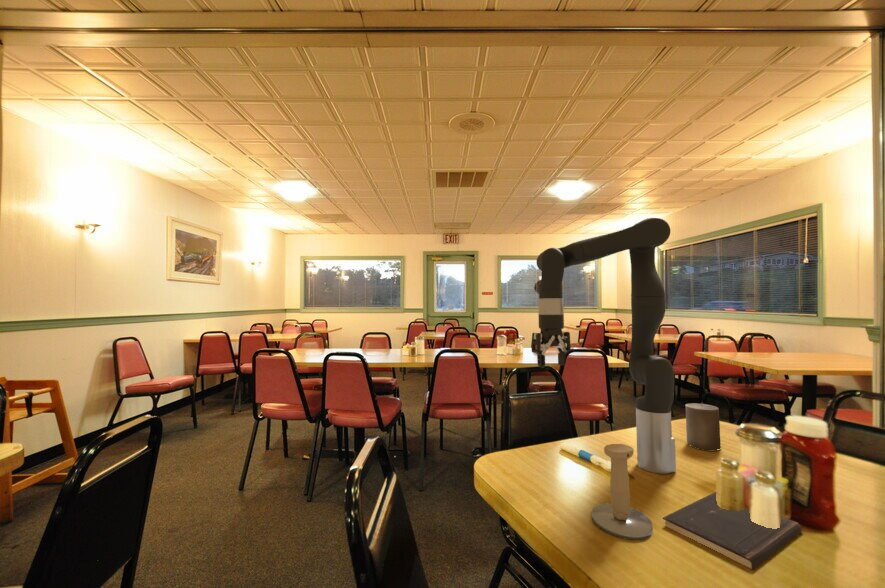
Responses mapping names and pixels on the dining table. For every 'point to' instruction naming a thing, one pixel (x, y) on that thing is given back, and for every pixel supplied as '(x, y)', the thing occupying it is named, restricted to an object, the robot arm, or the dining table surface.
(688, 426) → the pillar candle
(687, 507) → the hardcover book
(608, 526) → the disk
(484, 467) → the dining table surface
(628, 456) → the handle
